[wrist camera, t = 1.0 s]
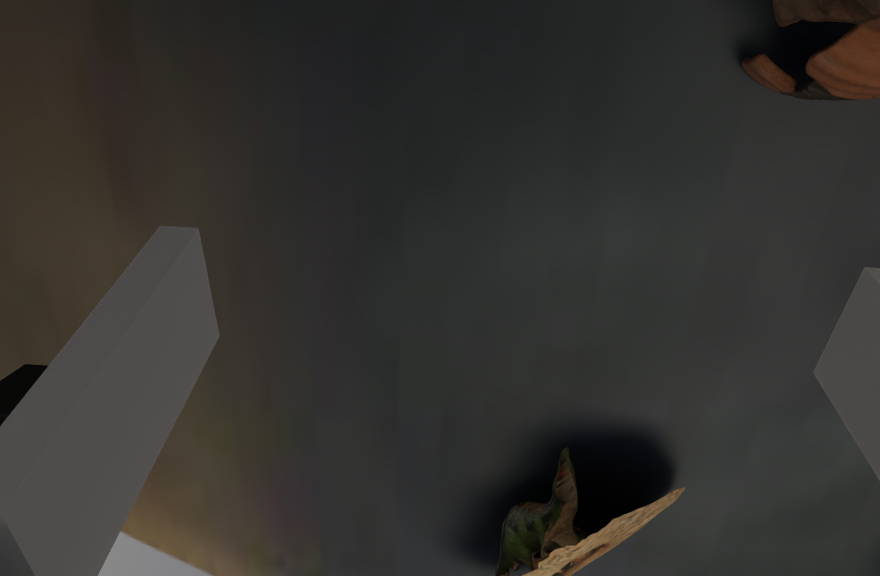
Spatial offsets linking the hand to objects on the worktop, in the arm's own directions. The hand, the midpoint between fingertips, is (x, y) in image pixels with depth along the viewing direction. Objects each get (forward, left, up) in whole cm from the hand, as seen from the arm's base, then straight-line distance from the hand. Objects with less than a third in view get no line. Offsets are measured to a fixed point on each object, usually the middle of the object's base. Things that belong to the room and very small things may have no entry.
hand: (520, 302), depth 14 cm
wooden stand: (+28, +5, -20) cm, 35 cm away
